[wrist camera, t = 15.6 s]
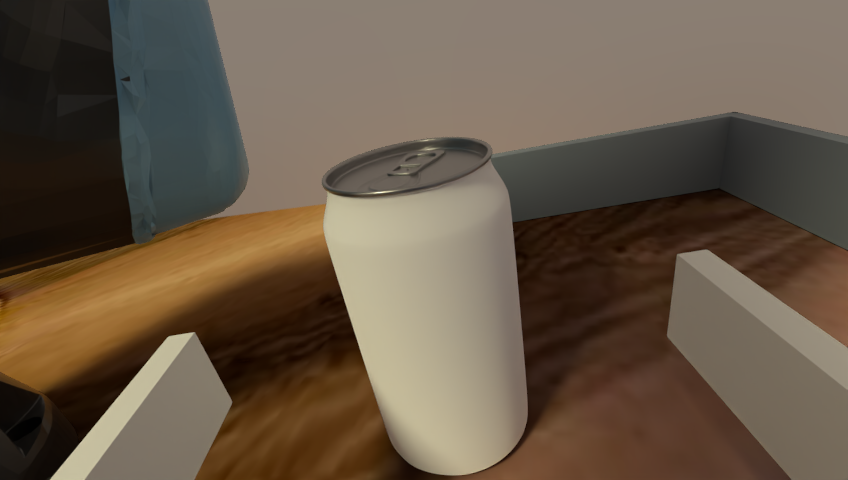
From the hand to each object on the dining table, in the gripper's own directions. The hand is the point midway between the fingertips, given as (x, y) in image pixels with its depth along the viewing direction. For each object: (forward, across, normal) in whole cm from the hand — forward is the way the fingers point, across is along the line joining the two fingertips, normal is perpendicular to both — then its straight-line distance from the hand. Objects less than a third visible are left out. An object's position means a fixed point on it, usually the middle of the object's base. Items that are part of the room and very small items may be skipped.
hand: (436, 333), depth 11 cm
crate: (+17, +13, -8) cm, 23 cm away
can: (+4, 0, -8) cm, 9 cm away
